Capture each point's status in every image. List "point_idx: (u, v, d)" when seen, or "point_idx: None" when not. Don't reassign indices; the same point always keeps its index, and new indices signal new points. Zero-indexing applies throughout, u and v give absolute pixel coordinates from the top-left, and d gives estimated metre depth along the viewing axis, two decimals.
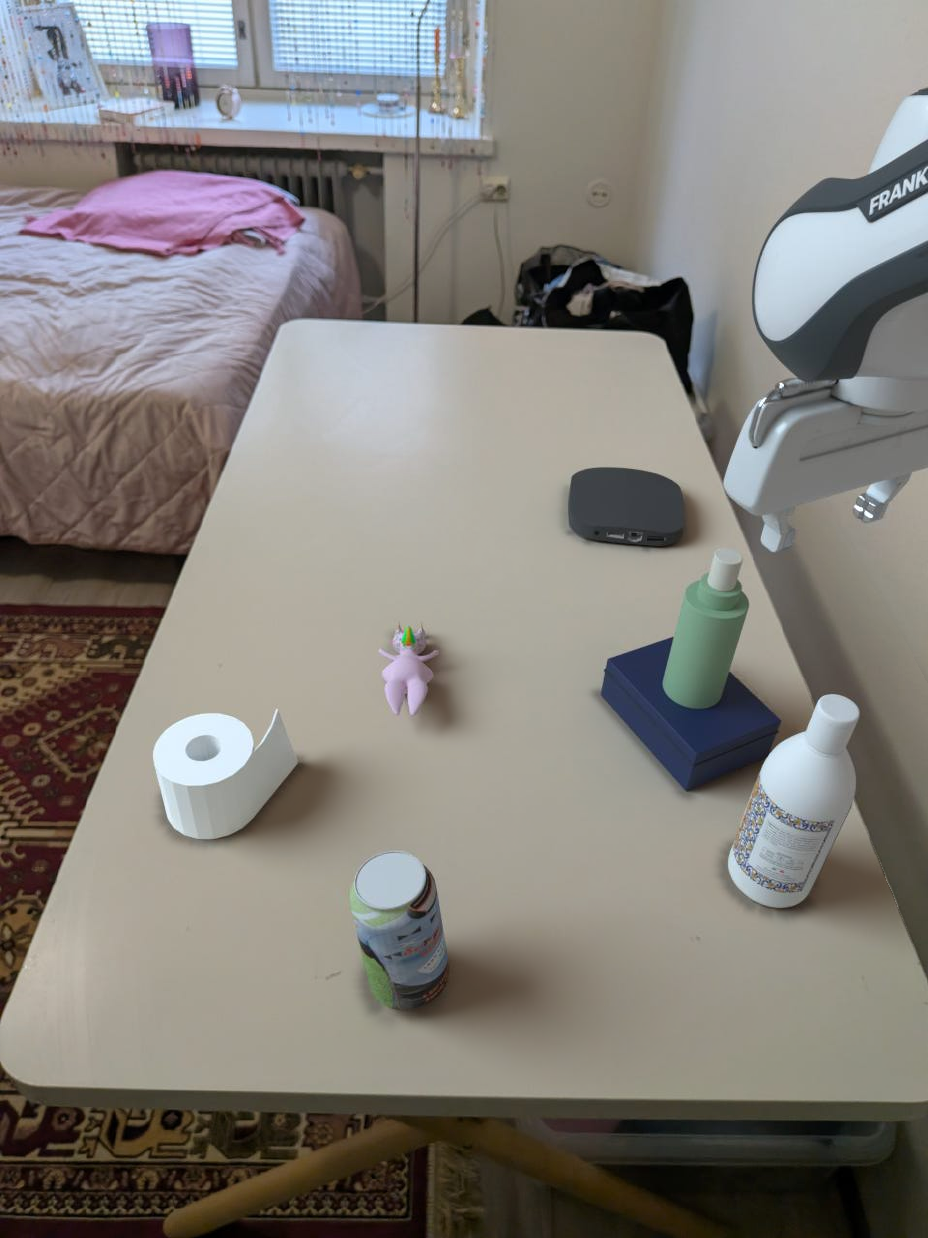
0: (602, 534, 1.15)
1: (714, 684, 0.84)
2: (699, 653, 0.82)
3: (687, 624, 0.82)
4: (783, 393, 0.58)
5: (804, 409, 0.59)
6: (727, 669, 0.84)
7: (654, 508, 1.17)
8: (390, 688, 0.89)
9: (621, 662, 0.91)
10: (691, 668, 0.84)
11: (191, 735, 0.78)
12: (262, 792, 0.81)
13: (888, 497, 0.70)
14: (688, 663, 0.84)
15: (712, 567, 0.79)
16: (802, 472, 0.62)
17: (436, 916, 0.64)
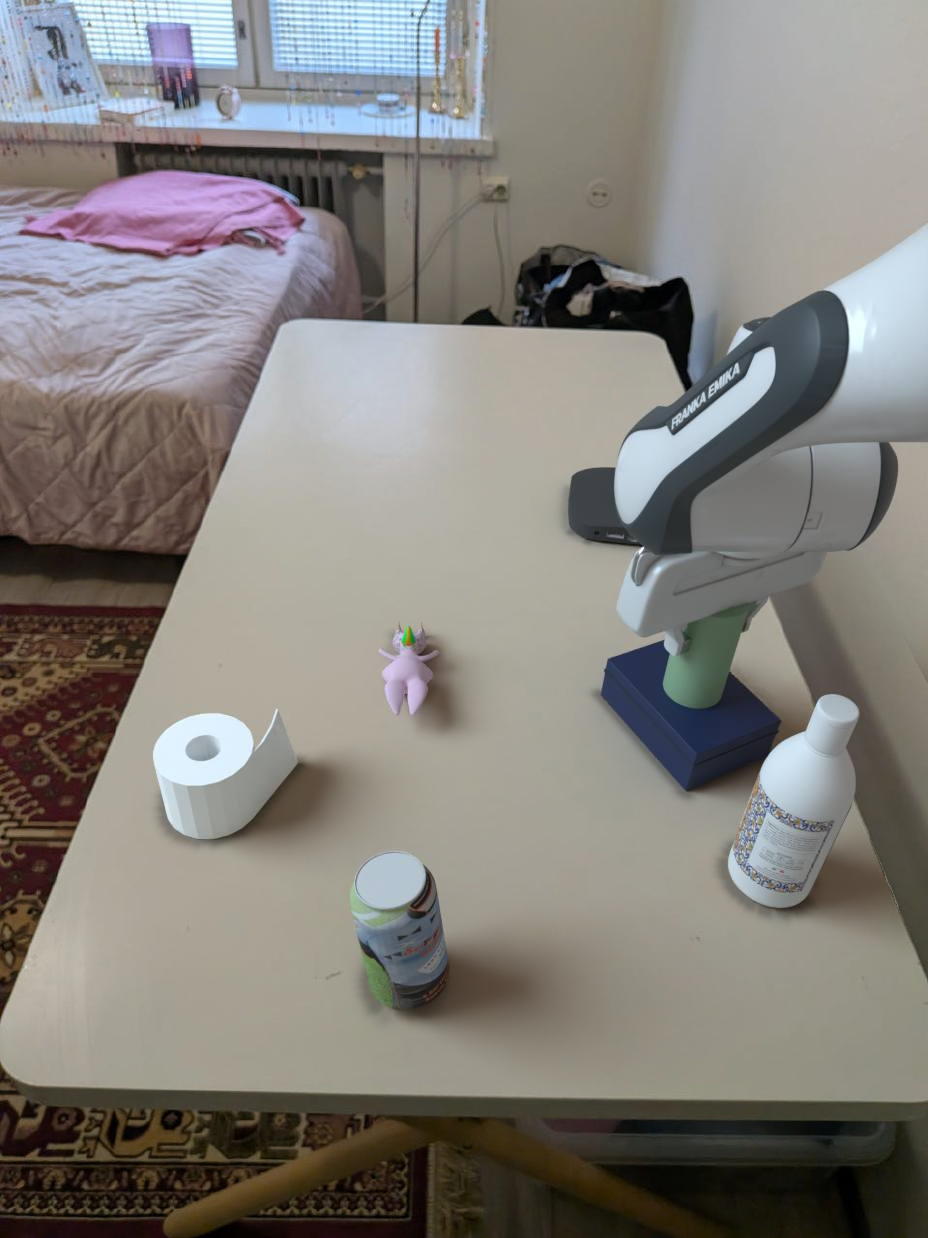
0: (602, 534, 1.15)
1: (714, 684, 0.84)
2: (699, 653, 0.82)
3: None
4: None
5: (674, 557, 0.73)
6: (727, 669, 0.84)
7: None
8: (390, 688, 0.89)
9: (621, 662, 0.91)
10: (691, 668, 0.84)
11: (191, 735, 0.78)
12: (262, 792, 0.81)
13: (750, 615, 0.84)
14: (688, 663, 0.84)
15: None
16: (677, 603, 0.76)
17: (436, 916, 0.64)
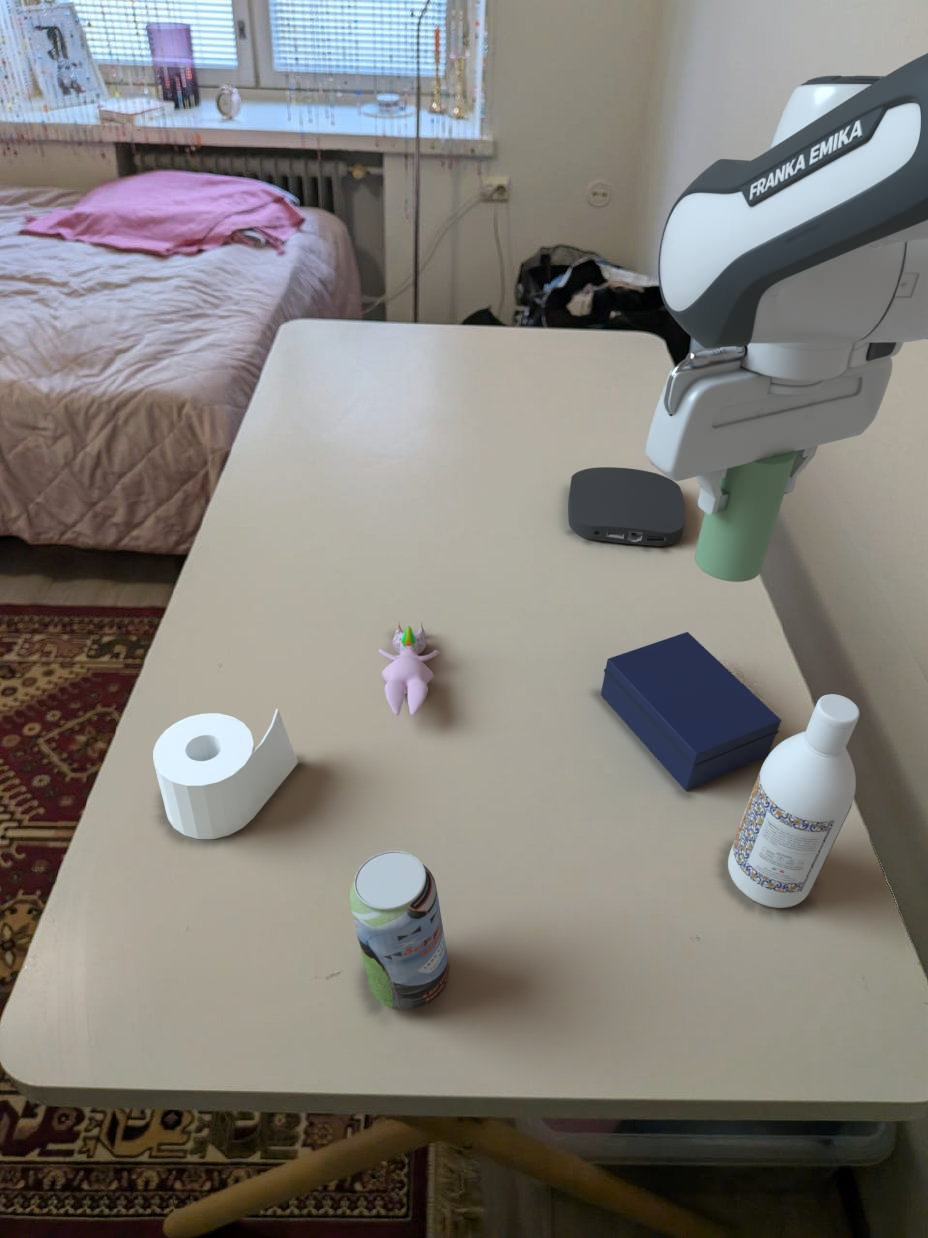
0: (602, 534, 1.15)
1: (755, 550, 0.74)
2: (738, 511, 0.72)
3: (725, 477, 0.72)
4: (693, 363, 0.63)
5: (714, 378, 0.63)
6: (769, 533, 0.74)
7: (654, 508, 1.17)
8: (390, 688, 0.89)
9: (621, 662, 0.91)
10: (729, 530, 0.73)
11: (191, 735, 0.78)
12: (262, 792, 0.81)
13: (795, 470, 0.74)
14: (725, 525, 0.73)
15: None
16: (716, 439, 0.66)
17: (436, 916, 0.64)
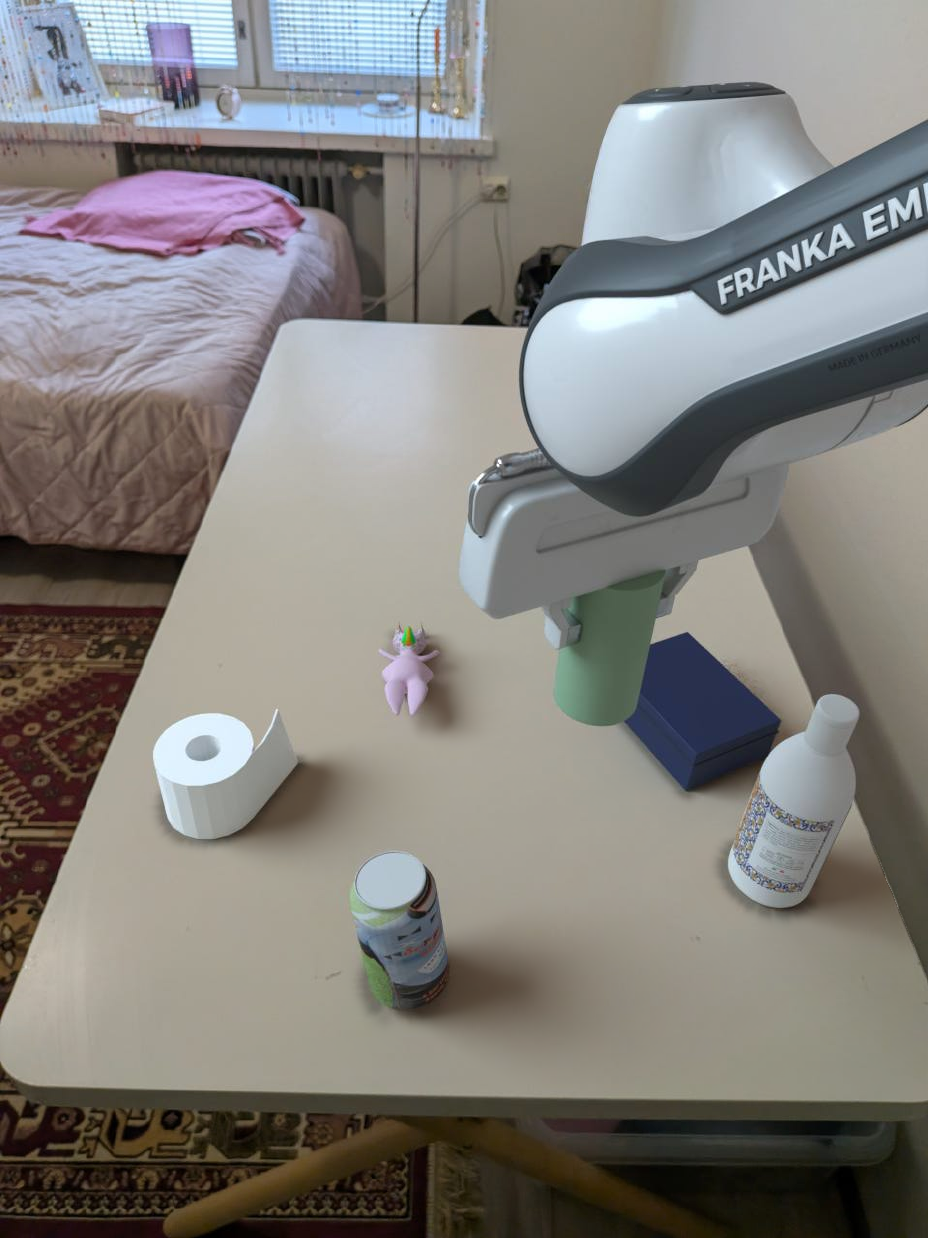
0: None
1: (620, 690, 0.58)
2: (593, 645, 0.56)
3: (575, 602, 0.55)
4: (501, 472, 0.46)
5: (533, 490, 0.47)
6: (639, 668, 0.58)
7: None
8: (390, 688, 0.89)
9: None
10: (585, 667, 0.57)
11: (191, 735, 0.78)
12: (262, 792, 0.81)
13: (672, 589, 0.57)
14: (580, 660, 0.57)
15: None
16: (545, 566, 0.49)
17: (436, 916, 0.64)
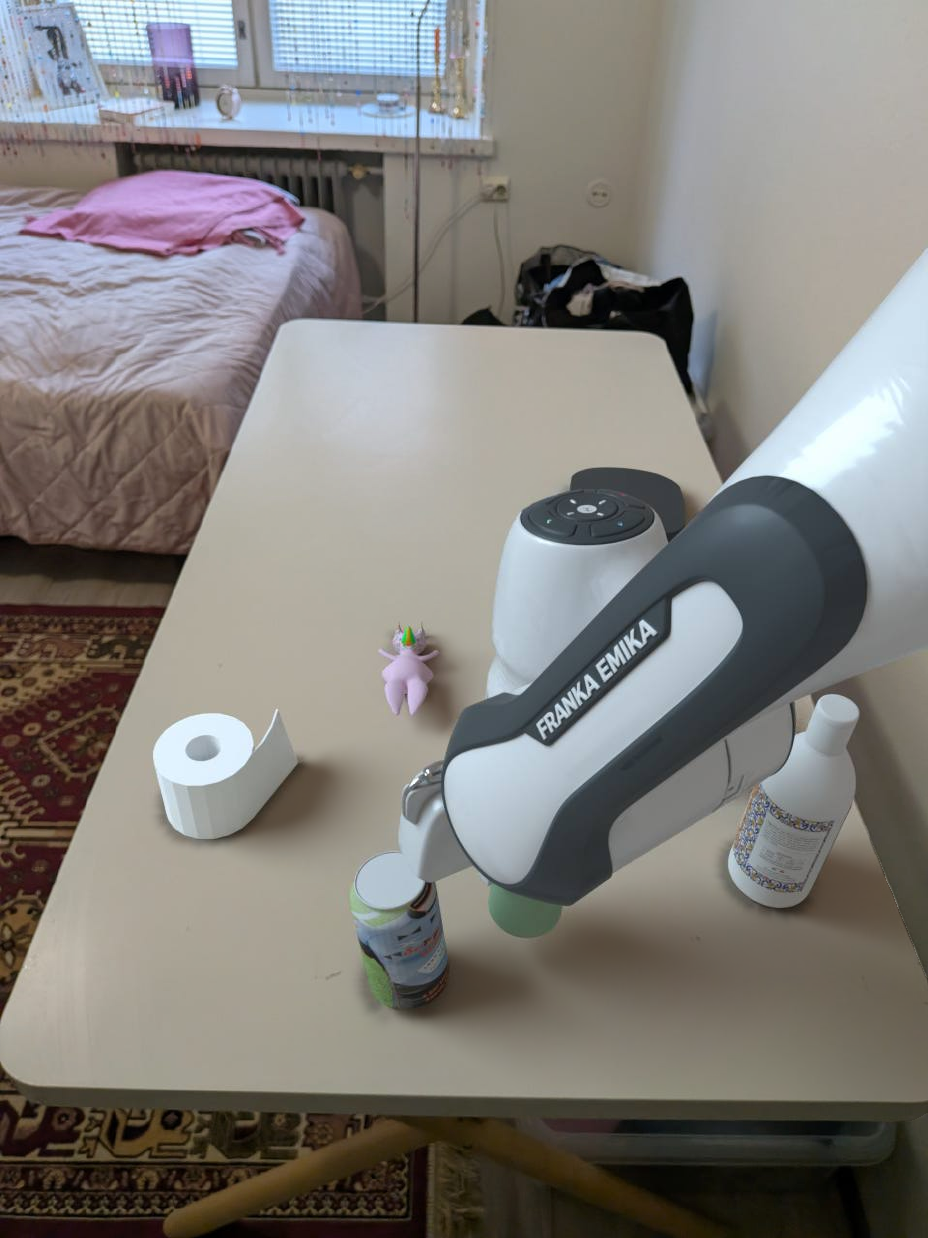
0: None
1: (543, 913, 0.67)
2: None
3: None
4: (429, 781, 0.55)
5: None
6: None
7: (654, 508, 1.17)
8: (390, 688, 0.89)
9: None
10: (512, 896, 0.66)
11: (191, 735, 0.78)
12: (262, 792, 0.81)
13: None
14: (507, 890, 0.66)
15: None
16: None
17: (436, 916, 0.64)
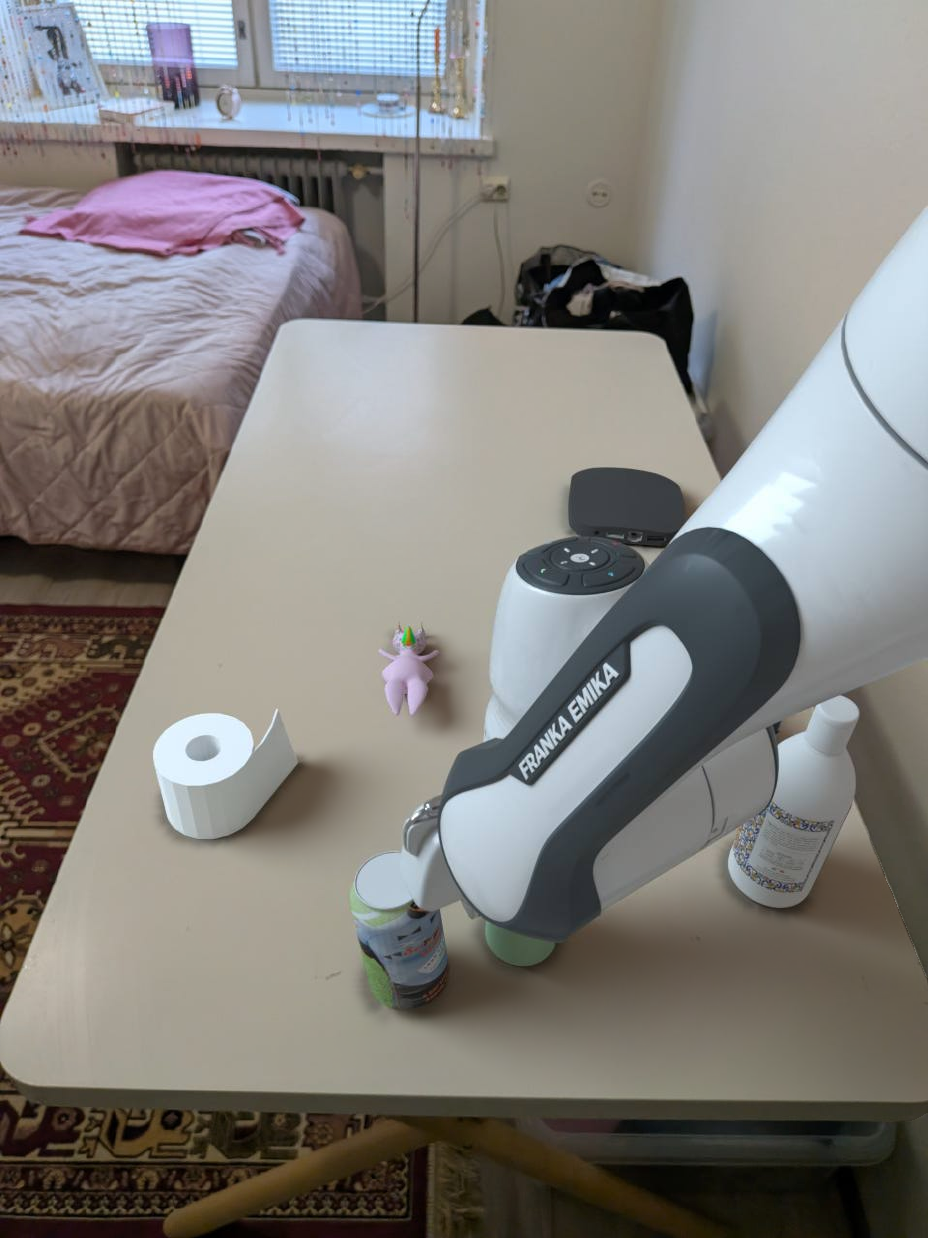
0: (602, 534, 1.15)
1: (538, 943, 0.69)
2: None
3: None
4: (429, 815, 0.56)
5: None
6: None
7: (654, 508, 1.17)
8: (390, 688, 0.89)
9: None
10: None
11: (191, 735, 0.78)
12: (262, 792, 0.81)
13: None
14: None
15: None
16: None
17: (436, 916, 0.64)
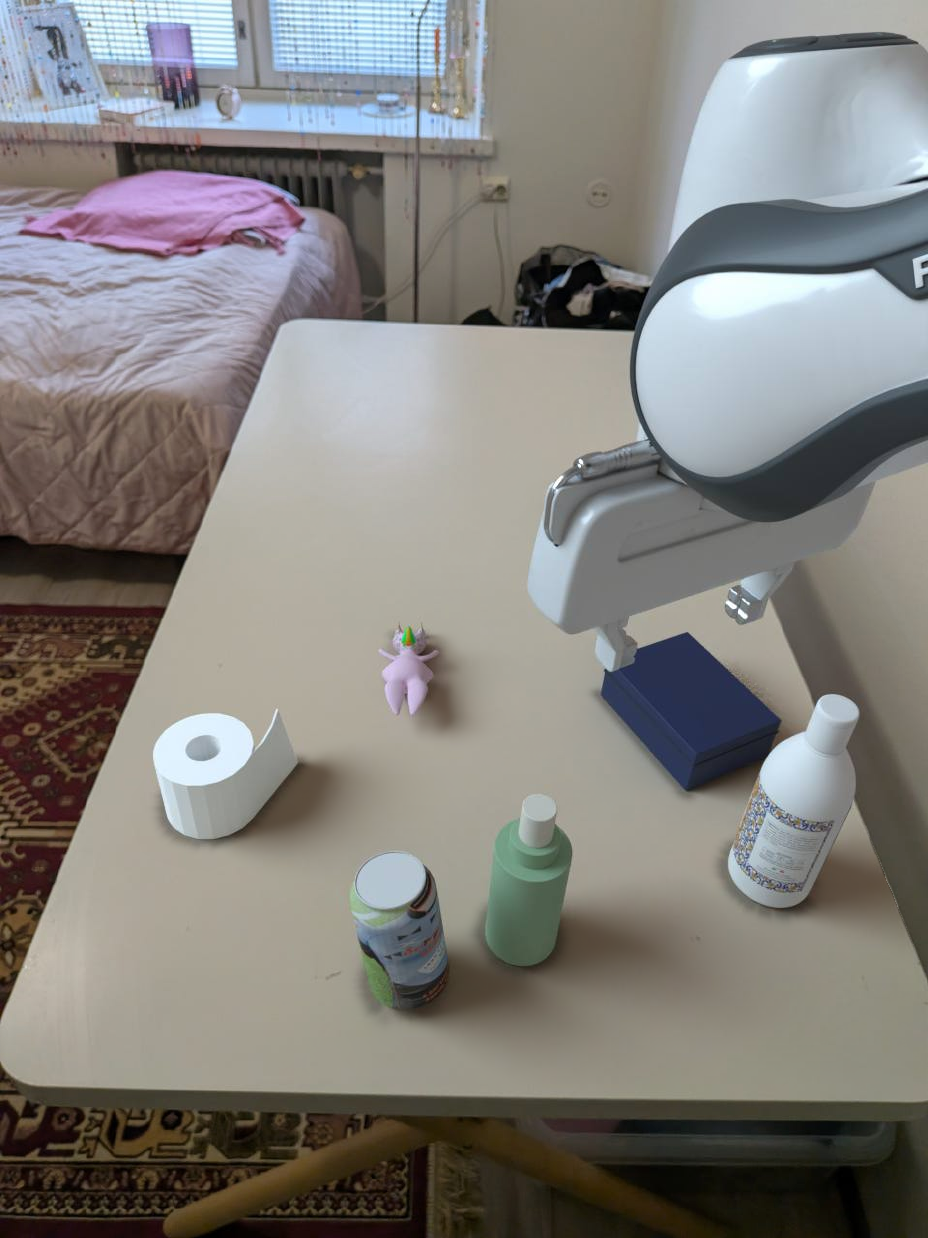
0: None
1: (538, 943, 0.69)
2: (513, 914, 0.67)
3: (497, 880, 0.66)
4: (583, 474, 0.42)
5: (617, 494, 0.43)
6: (553, 925, 0.69)
7: None
8: (390, 688, 0.89)
9: None
10: (507, 927, 0.68)
11: (191, 735, 0.78)
12: (262, 792, 0.81)
13: (766, 592, 0.54)
14: (503, 921, 0.68)
15: (521, 819, 0.64)
16: (625, 576, 0.45)
17: (436, 916, 0.64)
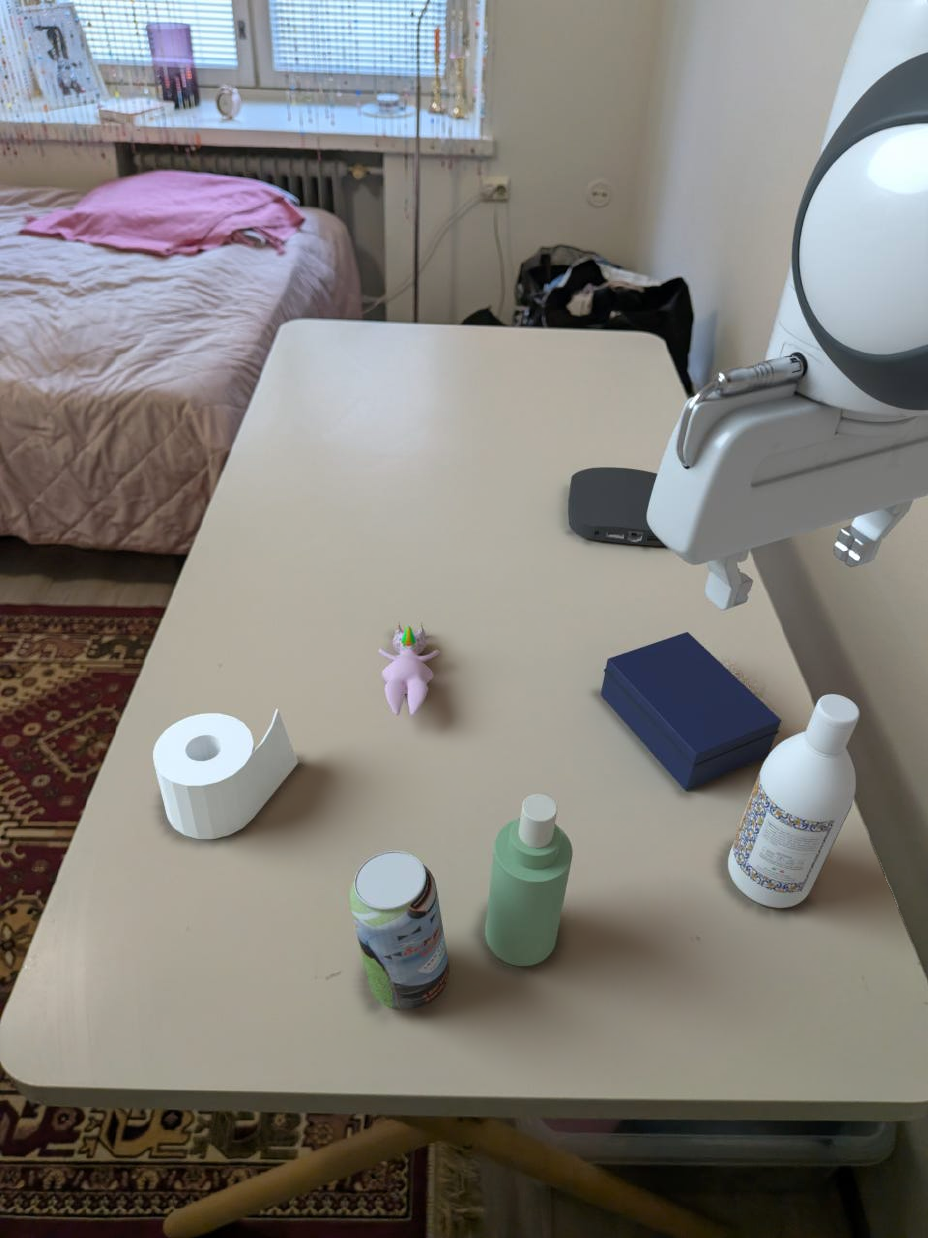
0: (602, 534, 1.15)
1: (538, 943, 0.69)
2: (513, 914, 0.67)
3: (497, 880, 0.66)
4: (724, 389, 0.39)
5: (756, 412, 0.40)
6: (553, 925, 0.69)
7: None
8: (390, 688, 0.89)
9: (621, 662, 0.91)
10: (507, 927, 0.68)
11: (191, 735, 0.78)
12: (262, 792, 0.81)
13: (880, 532, 0.51)
14: (503, 921, 0.68)
15: (521, 819, 0.64)
16: (755, 503, 0.43)
17: (436, 916, 0.64)
